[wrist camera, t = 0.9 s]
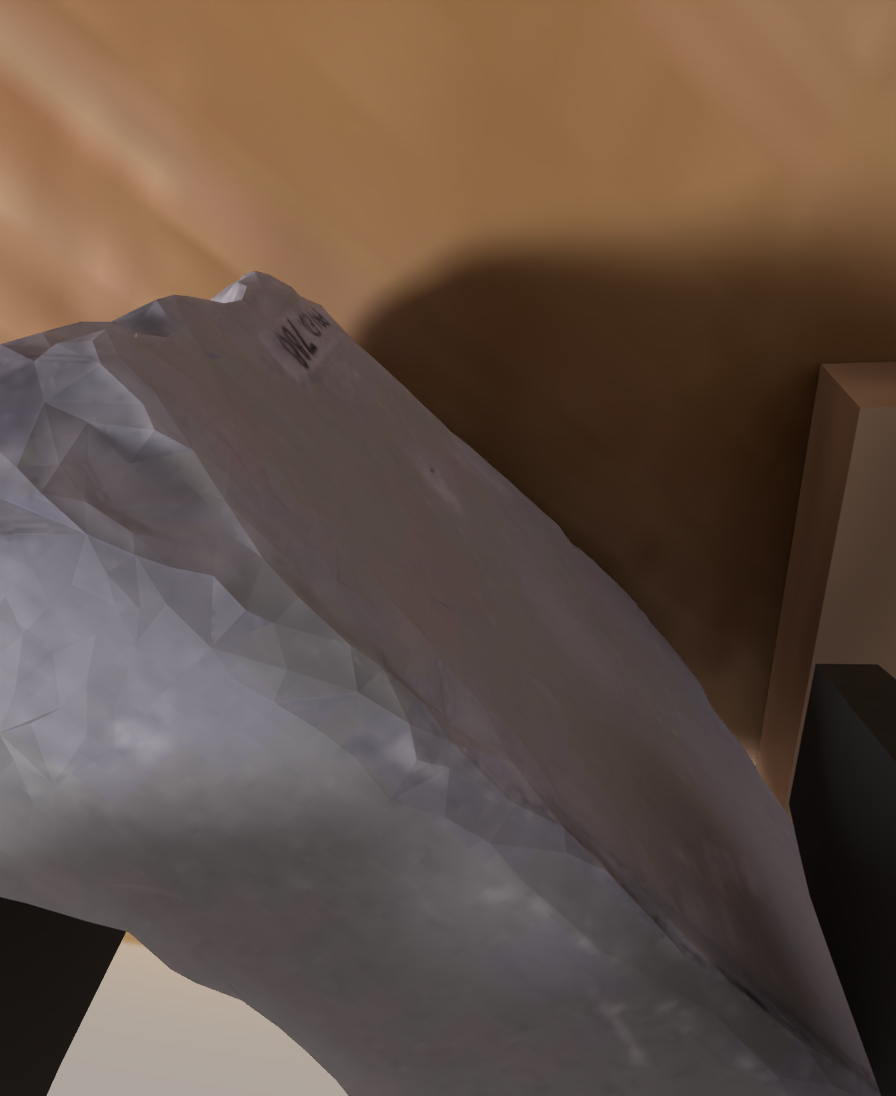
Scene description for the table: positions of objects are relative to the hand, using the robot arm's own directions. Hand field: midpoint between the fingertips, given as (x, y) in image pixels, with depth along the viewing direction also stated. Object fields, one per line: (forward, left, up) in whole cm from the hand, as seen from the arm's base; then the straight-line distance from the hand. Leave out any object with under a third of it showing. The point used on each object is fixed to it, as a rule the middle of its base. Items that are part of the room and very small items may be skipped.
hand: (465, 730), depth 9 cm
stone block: (0, 0, -7) cm, 7 cm away
